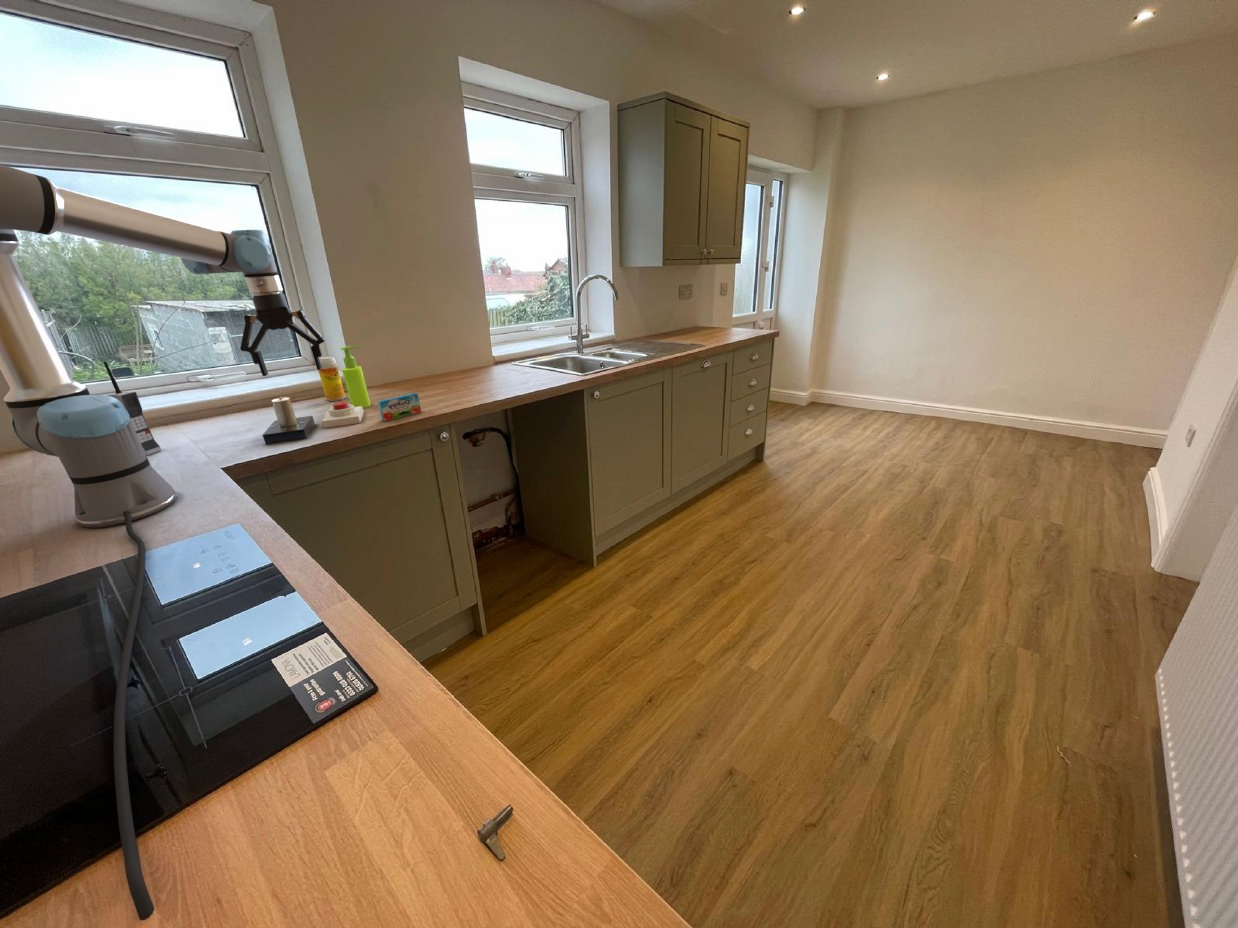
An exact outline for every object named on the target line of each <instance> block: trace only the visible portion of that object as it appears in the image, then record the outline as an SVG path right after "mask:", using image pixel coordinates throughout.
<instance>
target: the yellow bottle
mask: <svg viewBox="0 0 1238 928" xmlns="http://www.w3.org/2000/svg"><path fill="white" fill-rule="evenodd" d="M319 360H320V363H321V367H322V368H321V369H319V370H317V371H318V375H319V378H320V381H321V386H322V389H323V392H324V395H325V399H326V400H328V402H338V401H342V400H344V399H345V397H346V393H345V389H344V386H343V382H342V379H341V375H340V371H339V367H338V364H337V361H336V358H335V357H334V356H333V355H326V356H321V357H319Z"/></svg>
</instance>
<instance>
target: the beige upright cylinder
mask: <svg viewBox="0 0 1238 928" xmlns="http://www.w3.org/2000/svg"><path fill="white" fill-rule="evenodd" d="M271 404H272V407H273V411H274V412H275V416H276V420H278V422H279V425H280V427H288V426H293V425H295V424H297V420H296V418H297V416H296V414H295V411H294V408H293V405H292V401H291V398H290V397H288V396H287V397H286V396H285V397H284V396H280V397H278V398H273V399H272V400H271Z"/></svg>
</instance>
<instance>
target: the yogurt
mask: <svg viewBox="0 0 1238 928" xmlns="http://www.w3.org/2000/svg"><path fill="white" fill-rule="evenodd" d="M377 405H378V409H379V414H380V417H381V421H383V422H388V421H392V420H395V419H399V418H403V417H408V416H410V415H416V414H420V413H422V408H421V402H420V399H419V394H418V393H416V392H412V393H408V394H404V395H399V396H396V397H395V396H394V397H391V398H387V399H383V400H378V401H377Z"/></svg>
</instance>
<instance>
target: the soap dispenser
mask: <svg viewBox="0 0 1238 928" xmlns="http://www.w3.org/2000/svg"><path fill="white" fill-rule="evenodd" d="M359 348H360V346H359V345H348V346H347V345H346V346H343V347H341V348H340V350H341V351H344V357H342V359H343V363H344V367H343V368H342V369H341V373H342V376H343V380H344V384H345V388H346V391H347V394H348V395H347V396H348V398H349V402H350V405H354V407H359V406H362V408H363V409H365V408H368V407H370V406H371V405H372V404H371V400H370V397H369V392H368V388H367V384H366V379H365V376H364V372H363V369H362V366H360V365H357V361H356V357H355V356H353V355H352V353H351V349H352V350H353V349H359Z"/></svg>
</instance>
